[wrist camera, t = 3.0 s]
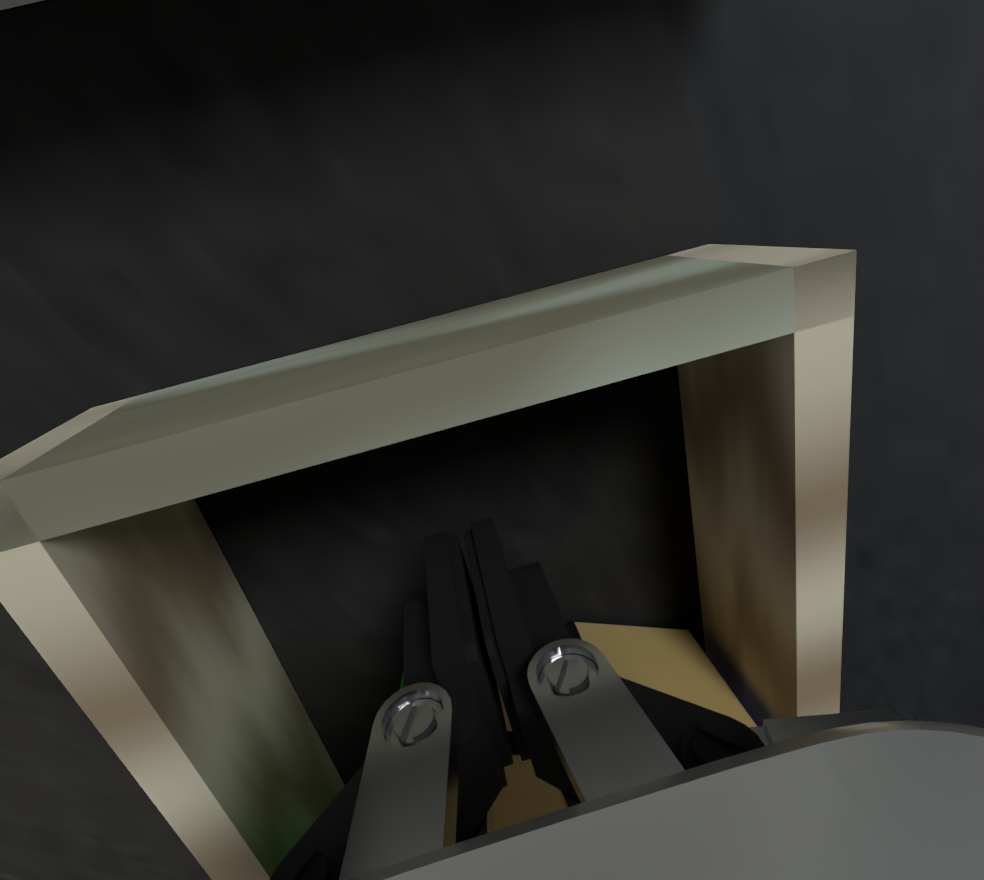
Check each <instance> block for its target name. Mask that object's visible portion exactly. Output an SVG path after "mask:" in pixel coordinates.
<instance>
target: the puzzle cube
mask: <svg viewBox="0 0 984 880" xmlns="http://www.w3.org/2000/svg"><path fill="white" fill-rule="evenodd" d="M566 628H567V631H568V633H569V636H570V638H575V639H580V640H585V641H587V642H589V643H591V644H593V645H595V646H596V647H597V648H598V649H599V650H600V651H601V652H602V653H603V655H604V656H605V657H606V659H607V660H608V662H609V663H610V664H611V666H612V667H613V669H614V670H615V672H616V673H617V674H618V676H619V677H622V678H625V679H628V680H630V681H633V682H636V683H638V684H641V685H644V686H647V687H649V688H652V689H655V690H658V691H660V692H663V693H666V694H669V695H671V696H674V697H677V698H680V699H682V700H685V701H688V702H691V703H693V704H696V705H699V706H702V707H704V708H707V709H710V710H713V711H715V712H718V713H721V714H724V715H726V716H729V717H732V718H733V719H735V720H737V721H739V722H741V723H743V724H745V725H746V726H748V727H758V726H757V725H756V724H755V722H754V721H753V719H752V718H751V717H750V715H749V714H748V712H747V711H746V710H745V708H744V707H743V705H742V704H741V703H740V701H739V700H738V698H737V697H736V696H735V694H734V693H733V691H732V690H731V689H730V687H729V686H728V684H727V683H726V682H725V680H724V679H723V677H722V676H721V675H720V673H719V672H718V670H717V669H716V668H715V666H714V665H713V664H712V662H711V661H710V659H709V658H708V657H707V655H706V654H705V652H704V651H703V650H702V648H701V647H700V645H699V644H698V643H697V641H696V640H695V638H694V637H693V636H692V634H691V633H690V631H689V630H687V629H672V628H658V627H644V626H630V625H615V624H601V623H587V622H570V623H568V624H567V625H566ZM497 685H498V684H497ZM402 688H403V674H402V679H401V685H400V689H402ZM498 689H499V687H498ZM499 694H500V690H499ZM500 699H501V704H502V709H503V714H504V718H505V723H506V728H507V733H508V738H509V743H510V747H511V752H512V757H513V764H512V765H509V766H506V767H504V769H505V774H506V780H507V785H508V786H505V787H503V788H502V790H501V792H500V793H499V795H498V796H497V798H496V800H495V801H494V803H493V805H492V806H491V809H492V812H493V818H494V831H496V830H499V829H502V828H505V827H509V826H512V825H515V824H518V823H521V822H524V821H527V820H530V819H533V818H537V817H540V816H543V815H546V814H549V813H552V812H555V811H558V810H562V809H565V806H564V804H563V801H562V798H561V795H560V791H559V789H558V788H556V787H554V786H552V785H550V784H548V783H547V782H545V781H543V780H541V779H539V778H537V777H536V775H535V772H534V768H533V765H532V762H531V759H528V760H525V761H522V760H521V757H520V754H519V751H518V747H517V744H516V741H515V738H514V735H513V732H512V728H511V725H510V722H509V719H508V716H507V713H506V709H505V706H504V703H503V700H502V697H501V694H500Z"/></svg>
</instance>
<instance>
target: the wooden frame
mask: <svg viewBox="0 0 984 880" xmlns="http://www.w3.org/2000/svg"><path fill="white" fill-rule="evenodd" d="M856 252H857V250H843V249H819V248H794V247H770V246H745V245H721V244H707V245H704V246H700V247H696V248H692V249H689V250H685V251H681V252H677V253H674V254H670V255H666V256H662V257H658V258H655V259H651V260H647V261H643V262H640V263H636V264H632V265H628V266H625V267H621V268H617V269H613V270H609V271H606V272H602V273H598V274H594V275H591V276H587V277H583V278H579V279H576V280H572V281H568V282H564V283H560V284H557V285H553V286H549V287H545V288H542V289H538V290H534V291H530V292H527V293H523V294H519V295H515V296H511V297H508V298H504V299H500V300H496V301H493V302H489V303H485V304H481V305H478V306H474V307H470V308H466V309H462V310H459V311H455V312H451V313H447V314H444V315H440V316H436V317H432V318H429V319H425V320H421V321H417V322H413V323H410V324H406V325H402V326H398V327H395V328H391V329H387V330H383V331H380V332H376V333H372V334H368V335H364V336H361V337H357V338H353V339H349V340H346V341H342V342H338V343H334V344H331V345H327V346H323V347H319V348H315V349H312V350H308V351H304V352H300V353H297V354H293V355H289V356H285V357H282V358H278V359H274V360H270V361H266V362H263V363H259V364H255V365H251V366H248V367H244V368H240V369H236V370H233V371H229V372H225V373H221V374H217V375H214V376H210V377H206V378H202V379H199V380H195V381H191V382H187V383H184V384H180V385H176V386H172V387H168V388H165V389H161V390H157V391H153V392H150V393H146V394H142V395H138V396H135V397H131V398H127V399H123V400H119V401H116V402H112V403H108V404H104V405H101V406H97V407H93V408H91V409H89V410H87V411H85V412H83V413H82V414H80V415H78V416H76V417H75V418H73V419H71V420H69V421H67V422H66V423H64V424H62V425H60V426H58V427H57V428H55V429H53V430H51V431H50V432H48V433H46V434H44V435H42V436H41V437H39V438H37V439H35V440H33V441H32V442H30V443H28V444H26V445H25V446H23V447H21V448H19V449H17V450H16V451H14V452H12V453H10V454H8V455H7V456H5V457H3V458H1V459H0V602H1V603H2V605H3V606H4V607H5V609H6V610H7V611H8V612H9V614H10V615H11V616H12V618H13V619H14V620H15V622H16V623H17V624H18V626H19V627H20V628H21V630H22V631H23V632H24V633H25V635H26V636H27V637H28V639H29V640H30V641H31V643H32V644H33V645H34V647H35V648H36V649H37V651H38V652H39V653H40V655H41V656H42V657H43V658H44V660H45V661H46V662H47V664H48V665H49V666H50V668H51V669H52V670H53V672H54V673H55V674H56V676H57V677H58V678H59V679H60V681H61V682H62V683H63V685H64V686H65V687H66V689H67V690H68V691H69V693H70V694H71V695H72V697H73V698H74V699H75V700H76V702H77V703H78V704H79V706H80V707H81V708H82V710H83V711H84V712H85V714H86V715H87V716H88V718H89V719H90V720H91V722H92V723H93V724H94V725H95V727H96V728H97V729H98V731H99V732H100V733H101V735H102V736H103V737H104V739H105V740H106V741H107V743H108V744H109V745H110V746H111V748H112V749H113V750H114V752H115V753H116V754H117V756H118V757H119V758H120V760H121V761H122V762H123V764H124V765H125V766H126V767H127V769H128V770H129V771H130V773H131V774H132V775H133V777H134V778H135V779H136V781H137V782H138V783H139V785H140V786H141V787H142V789H143V790H144V791H145V792H146V794H147V795H148V796H149V798H150V799H151V800H152V802H153V803H154V804H155V806H156V807H157V808H158V810H159V811H160V812H161V813H162V815H163V816H164V817H165V819H166V820H167V821H168V823H169V824H170V825H171V827H172V828H173V829H174V831H175V832H176V833H177V834H178V836H179V837H180V838H181V840H182V841H183V842H184V844H185V845H186V846H187V848H188V849H189V850H190V852H191V853H192V854H193V856H194V857H195V858H196V859H197V861H198V862H199V863H200V865H201V866H202V867H203V869H204V870H205V871H206V873H207V874H208V875H209V877H210V878H211V879H212V880H269V879H270V877H271V875H272V874H273V872H274V871H275V870H276V868H277V867H278V865H279V864H280V862H281V861H282V860H283V858H284V857H285V856H286V855H287V854H288V852H289V851H290V850H291V849H292V848H293V847H294V845H295V844H296V843H297V842H298V841H299V840H300V838H301V837H302V836H303V835H304V834H305V832H306V831H307V830H308V829H309V828H310V827H311V825H312V824H313V823H314V822H315V821H316V819H317V818H318V817H319V816H320V815H321V814H322V812H323V811H324V810H325V809H326V808H327V806H328V805H329V804H330V803H331V802H332V801H333V799H334V798H335V797H336V796H337V795H338V793H339V792H340V791H341V790H342V789H343V788H344V786H345V785H344V783H343V781H342V779H341V777H340V775H339V773H338V771H337V769H336V768H335V766H334V764H333V762H332V760H331V758H330V756H329V754H328V752H327V750H326V749H325V747H324V745H323V743H322V741H321V739H320V737H319V735H318V733H317V731H316V730H315V728H314V726H313V724H312V722H311V720H310V718H309V716H308V714H307V712H306V711H305V709H304V707H303V705H302V703H301V701H300V699H299V697H298V695H297V693H296V692H295V690H294V688H293V686H292V684H291V682H290V680H289V678H288V676H287V674H286V673H285V671H284V669H283V667H282V665H281V663H280V661H279V659H278V657H277V655H276V654H275V652H274V650H273V648H272V646H271V644H270V642H269V640H268V638H267V636H266V635H265V633H264V631H263V629H262V627H261V625H260V623H259V621H258V619H257V617H256V616H255V614H254V612H253V610H252V608H251V606H250V604H249V602H248V600H247V598H246V597H245V595H244V593H243V591H242V589H241V587H240V585H239V583H238V581H237V579H236V578H235V576H234V574H233V572H232V570H231V568H230V566H229V564H228V562H227V560H226V559H225V557H224V555H223V553H222V551H221V549H220V547H219V545H218V543H217V541H216V540H215V538H214V536H213V534H212V532H211V530H210V528H209V526H208V524H207V522H206V521H205V519H204V517H203V515H202V513H201V511H200V509H199V507H198V505H197V503H196V502H195V500H194V499H195V498H198V497H202V496H205V495H209V494H213V493H216V492H220V491H224V490H227V489H231V488H234V487H238V486H242V485H245V484H249V483H252V482H256V481H260V480H263V479H267V478H271V477H274V476H278V475H281V474H285V473H289V472H292V471H296V470H299V469H303V468H307V467H310V466H314V465H318V464H321V463H325V462H328V461H332V460H336V459H339V458H343V457H346V456H350V455H354V454H357V453H361V452H365V451H368V450H372V449H375V448H379V447H383V446H386V445H390V444H393V443H397V442H401V441H404V440H408V439H412V438H415V437H419V436H422V435H426V434H430V433H433V432H437V431H441V430H444V429H448V428H451V427H455V426H459V425H462V424H466V423H469V422H473V421H477V420H480V419H484V418H488V417H491V416H495V415H498V414H502V413H506V412H509V411H513V410H516V409H520V408H524V407H527V406H531V405H535V404H538V403H542V402H545V401H549V400H553V399H556V398H560V397H563V396H567V395H571V394H574V393H578V392H582V391H585V390H589V389H592V388H596V387H600V386H603V385H607V384H610V383H614V382H618V381H621V380H625V379H629V378H632V377H636V376H639V375H643V374H647V373H650V372H654V371H657V370H661V369H665V368H668V367H672V366H676V365H677V367H678V377H679V388H680V398H681V408H682V418H683V428H684V439H685V449H686V459H687V469H688V479H689V490H690V500H691V510H692V520H693V530H694V541H695V551H696V561H697V571H698V581H699V592H700V602H701V612H702V622H703V632H704V643H705V653H706V655H707V657H708V658H709V659H710V661H711V662H712V664H713V665H714V666H715V668H716V669H717V670H718V672H719V673H720V675H721V676H722V677H723V679H724V680H725V682H726V683H727V684H728V686H729V687H730V689H731V690H732V691H733V693H734V694H735V696H736V697H737V698H738V700H739V701H740V703H741V704H742V705H743V707H744V708H745V710H746V711H747V712H748V714H749V715H750V717H751V718H752V719H753V721H754V722H755V724H756V725H757V726H758V727H760V726H763V719H774V718H786V717H799V716H811V715H824V714H836V713H839V708H840V681H841V654H842V627H843V600H844V574H845V547H846V520H847V493H848V466H849V439H850V413H851V386H852V359H853V332H854V305H855V279H856Z"/></svg>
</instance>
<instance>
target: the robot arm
mask: <svg viewBox="0 0 984 880" xmlns="http://www.w3.org/2000/svg"><path fill="white" fill-rule="evenodd" d="M470 525H471V529H472V530H469V531H465V532H463V534H464V539H465V544H466V549H467V554H468V559H469V564H470V569H471V574H472V579H473V584H474V588H473V585H472V582H471V579H470V576H469V572H468V569H467V566H466V563H465V559H464V556H463V553H462V550H461V546H460V543H459V540H458V537H457V535H456V534H455V535H451V536H448V534H447V531H443V532H440V533H436V534H433V535H429V536H426V537H424V551H425V566H426V581H427V594H426V595H423V596H419V597H416V598H412V599H409V600H406V601H404V606H403V688H402V689H400V690H399V691H397V692H395V693H394V694H393V695H392V696H391V697H389V698H388V699H387V700H386V701H385V702H384V704H383V705H382V706H381V708H380V709H379V711H378V712H377V715H376V717H375V720H374V723H373V727H372V731H371V736H370V740H369V745H368V750H367V754H366V759H365V763H364V764H363V765H362V766H361V767H360V769H359V770H358V771H357V772H356V773H355V775H354V776H353V777H352V778H351V779H350V780H349V782H348V783H347V784H346V785H345V786H344V788H343V789H342V790H341V791H340V792H339V793H338V795H337V796H336V797H335V798H334V799H333V801H332V802H331V803H330V804H329V805H328V806H327V808H326V809H325V810H324V811H323V812H322V814H321V815H320V816H319V817H318V818H317V819H316V821H315V822H314V823H313V824H312V825H311V827H310V828H309V829H308V830H307V831H306V832H305V834H304V835H303V836H302V837H301V838H300V840H299V841H298V842H297V843H296V844H295V845H294V847H293V848H292V849H291V850H290V851H289V852H288V854H287V855H286V856H285V857H284V858H283V860H282V861H281V862H280V864H279V865H278V867H277V868H276V870H275V871H274V872H273V874H272V875H271V877H270V879H269V880H984V728H979V727H974V726H969V725H962V724H955V723H945V722H929V721H920V720H918V719H916V718H915V717H912V716H909V715H906V714H903V713H900V712H897V711H884V710H874V711H861V712H849V713H836V714H824V715H811V716H799V717H786V718H774V719H763V726H760V727H748V726H746V725H745V724H743V723H741V722H739V721H737V720H735V719H733V718H732V717H729V716H726V715H724V714H721V713H718V712H715V711H713V710H710V709H707V708H704V707H702V706H699V705H696V704H693V703H691V702H688V701H685V700H682V699H680V698H677V697H674V696H671V695H669V694H666V693H663V692H660V691H658V690H655V689H652V688H649V687H647V686H644V685H641V684H638V683H636V682H633V681H630V680H628V679H625V678H622V677H619V676H618V674H617V673H616V672H615V670H614V669H613V667H612V666H611V664H610V663H609V662H608V660H607V659H606V657H605V656H604V655H603V653H602V652H601V651H600V650H599V649H598V648H597V647H596V646H595V645H593V644H591V643H589V642H587V641H585V640H580V639H575V638H570V636H569V633H568V631H567V628H566V626H565V623H564V621H563V618H562V616H561V614H560V611H559V609H558V606H557V604H556V601H555V599H554V596H553V594H552V592H551V589H550V587H549V584H548V582H547V579H546V577H545V574H544V572H543V570H542V567H541V565H540V563H539V561H538V562H534V563H531V564H528V565H524V566H521V567H517V568H514V569H511V570H508V567H507V564H506V561H505V558H504V554H503V551H502V548H501V545H500V541H499V538H498V535H497V532H496V529H495V525H494V522H493V519H492V518H488V519H485V520H481V521H478V522H474V523H471V524H470ZM474 589H475V592H474ZM475 594H476V595H475ZM497 684H498V685H497ZM498 687H499V689H498ZM499 690H500V694H501V697H502V700H503V703H504V706H505V709H506V713H507V716H508V719H509V722H510V725H511V728H512V732H513V735H514V738H515V741H516V744H517V747H518V751H519V754H520V757H521V760H522V761H525V760H528V759H531V762H532V765H533V768H534V772H535V775H536V777H537V778H539V779H541V780H543V781H545V782H547V783H548V784H550V785H552V786H554V787H556V788H558V789H559V791H560V795H561V798H562V801H563V804H564V806H565V809H562V810H558V811H555V812H552V813H549V814H546V815H543V816H540V817H537V818H533V819H530V820H527V821H524V822H521V823H518V824H515V825H512V826H509V827H505V828H502V829H499V830H496V831H494V818H493V812H492V809H491V806H492V805H493V803H494V801H495V800H496V798H497V796H498V795H499V793H500V792H501V790H502V788H503V787H505V786H508V785H507V780H506V774H505V769H504V767H506V766H509V765H512V764H513V757H512V752H511V747H510V743H509V738H508V733H507V728H506V723H505V718H504V714H503V709H502V704H501V699H500V694H499Z"/></svg>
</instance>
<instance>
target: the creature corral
mask: <svg viewBox="0 0 984 880" xmlns="http://www.w3.org/2000/svg"><path fill="white" fill-rule="evenodd" d="M39 1H43V0H0V10H4V9H8V8H12V7H17V6H21V5H26V4H30V3H35V2H39Z"/></svg>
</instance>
